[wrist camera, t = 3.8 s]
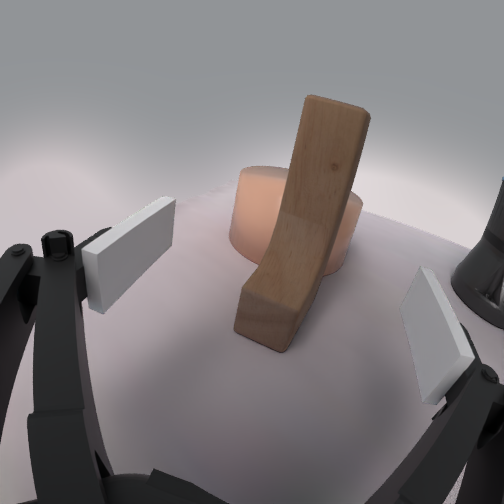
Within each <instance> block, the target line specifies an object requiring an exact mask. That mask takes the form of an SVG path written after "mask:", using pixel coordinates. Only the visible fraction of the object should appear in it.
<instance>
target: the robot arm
mask: <svg viewBox="0 0 504 504" xmlns="http://www.w3.org/2000/svg"><path fill="white" fill-rule="evenodd" d="M502 181H503V182H502V185H501V188H500V192H499V195H498V197H497V200H496V203H495V206H494V209H493V211H492V214H491V216H490V219H489V221H488V224H487V226H486V229H485V231H484V233H483V236H482V238H481V240H480V241H479V242H478V244H477V245H476V246H475V247H474V248H473V249H472V250H471V252H470V253H469V254H468V255H467V256H466V257H465V259H464V260H463V261H462V262H461V263H460V264H459V265H458V266H457V268H456V270H455V272H454V274H453V276H452V278H451V283H452V286H453V288H454V290H455V291H456V293H457V294H458V296H459V297H460V298H461V299H462V300H463V301H464V302H465V303H466V304H467V305H468V306H469V307H470V308H471V309H472V310H473V311H474V312H476V313H477V314H478V315H479V316H481V317H482V318H484V319H485V320H487V321H488V322H490V323H492V324H493V325H495V326H497V327H500V328H502V329H504V177H503V178H502ZM175 203H176V199H174V198H170V197H166V196H162V197H161V198H159V199H157V200H156V201H154V202H153V203H151V204H149V205H147V206H146V207H144V208H142V209H141V210H139V211H138V212H136V213H135V214H133V215H131V216H130V217H128V218H127V219H125V220H124V221H122V222H121V223H119V224H117V225H116V226H115V227H113V228H112V227H109V228H105V229H102V230H100V231H98V232H97V233H95V234H94V235H93V236H91V237H89V238H88V239H87V240H85V241H83V242H82V243H80V244H79V245H78V246H76V247H74V242H73V235H72V233H71V232H69V231H66V230H55V231H51V232H48V233H46V234H45V235H44V236H43V237H42V238H41V241H42V249H43V254H44V257H37V256H33V252H32V248H31V246H30V245H28V244H17V245H16V244H15V245H13V246H12V247H10V248H8V249H7V250H6V251H5V253H4V254H3V255H2V257H1V258H0V442H1V437H2V431H3V426H4V422H5V417H6V413H7V409H8V404H9V400H10V397H11V393H12V389H13V385H14V382H15V378H16V375H17V372H18V369H19V365H20V362H21V359H22V356H23V353H24V350H25V347H26V344H27V342H28V339H29V336H30V333H31V331H32V328H33V325H34V323H35V333H34V352H33V400H34V412H33V413H32V414H29V415H28V418H27V429H28V441H29V450H30V458H31V466H32V472H33V478H34V484H35V490H36V495H37V499H35V500H31V501H27V502H23V503H18V504H229V503H227V502H225V501H223V500H221V499H219V498H217V497H215V496H213V495H212V494H210V493H208V492H206V491H205V490H203V489H201V488H199V487H198V486H196V485H194V484H193V483H191V482H188V481H185V480H182V479H179V478H177V477H174V476H171V475H169V474H166V473H164V472H161V471H159V470H156V469H153V471H152V473H151V475H145V474H119V475H114V473H113V470H112V467H111V465H110V462H109V459H108V457H107V454H106V451H105V447H104V443H103V439H102V435H101V431H100V427H99V422H98V418H97V413H96V408H95V403H94V397H93V392H92V386H91V380H90V374H89V367H88V359H87V351H86V343H85V333H84V321H83V308H82V301H83V300H84V299H85V298H86V297H87V299H88V305H89V308H90V309H92V310H94V311H97V312H99V313H101V314H104V313H105V312H106V311H107V310H108V309H109V308H110V307H111V306H112V305H113V304H114V303H115V302H116V301H117V300H118V299H119V298H120V297H121V296H122V295H123V294H124V292H125V291H126V290H127V289H128V288H129V287H130V286H131V285H132V284H133V283H134V282H135V281H136V280H137V279H138V278H139V277H140V276H141V275H142V274H143V273H144V272H145V271H146V270H147V269H148V268H149V267H150V266H151V265H152V264H153V263H154V262H155V261H156V260H157V259H158V258H159V257H160V256H161V255H163V254H164V253H165V252H166V251H167V250H168V249H169V248H170V247H171V246H172V238H173V226H174V214H175ZM400 312H401V315H402V319H403V323H404V326H405V330H406V334H407V337H408V341H409V345H410V349H411V353H412V358H413V362H414V366H415V371H416V375H417V380H418V385H419V390H420V395H421V400H422V403H425V404H434V405H437V404H438V403H439V401H440V400H441V399H442V398H443V397H444V396H445V397H446V401H447V403H446V404H445V405H444V406H443V407H442V408H441V409H440V410H439V411H438V412H437V413H436V414H435V416H434V417H433V418H432V420H433V422H432V423H431V425H430V426H429V427H428V429H427V430H426V432H425V433H424V434H423V436H422V437H421V439H420V440H419V441H418V443H417V444H416V445H415V447H414V448H413V449H412V450H411V452H410V453H409V454H408V456H407V457H406V458H405V459H404V460H403V462H402V463H401V464H400V465H399V467H398V468H397V469H396V470H395V471H394V472H393V474H392V475H391V476H390V477H389V478H388V479H387V480H386V481H385V483H384V484H383V485H382V486H381V487H380V488H379V489H378V490H377V491H376V492H375V493H374V494H373V495H372V496H371V497H370V498H369V500H368V501H367V502H366V503H365V504H443V502H444V501H445V499H446V497H447V496H448V494H449V493H450V491H451V489H452V488H453V486H454V484H455V482H456V481H457V479H458V477H459V475H460V474H461V472H462V470H463V468H464V466H465V464H466V462H467V464H466V468H465V472H464V476H463V480H462V483H461V487H460V490H459V493H458V496H457V500H456V503H455V504H504V385H502V384H500V383H499V378H498V375H497V374H496V372H495V371H494V370H493V369H492V368H491V367H489V366H488V365H485V364H482V362H481V360H480V358H479V355H478V353H477V351H476V348H475V346H474V344H473V342H472V340H471V337H470V335H469V333H468V331H467V330H466V329H465V327H464V326H463V325H462V324H461V323H459V321H458V319H457V317H456V314H455V312H454V310H453V308H452V306H451V304H450V302H449V300H448V299H447V297H446V295H445V293H444V291H443V289H442V287H441V285H440V283H439V282H438V280H437V278H436V276H435V274H434V272H433V271H432V270H431V269H428V268H425V267H422V266H420V268H419V270H418V272H417V274H416V276H415V278H414V280H413V282H412V285H411V287H410V289H409V291H408V293H407V295H406V297H405V299H404V301H403V302H402V304H401V306H400Z"/></svg>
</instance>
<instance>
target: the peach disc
mask: <svg viewBox="0 0 504 504" xmlns="http://www.w3.org/2000/svg"><path fill="white" fill-rule="evenodd" d="M288 172H289V169H287V168H280V167H271V166H252V167H247V168H244V169H242V170H241V171H240V176H239V181H238V187H237V192H236V198H235V203H234V209H233V214H232V220H231V226H230V231H229V239H230V242H231V244H232V245H233V247H234V248H235V249H236V250H237V251H238V252H239V253H240V254H242V255H243V256H244V257H246V258H247V259H249V260H251V261H252V262H254V263H256V264H258V265H259V264H260V262H261V260H262V258H263V256H264V254H265V252H266V250H267V248H268V246H269V243H270V240H271V237H272V234H273V231H274V228H275V225H276V222H277V218H278V214H279V210H280V205H281V201H282V197H283V193H284V189H285V184H286V180H287V176H288ZM362 206H363V202H362V200H361V199H360V198H359V197H358V196H357V195H356V194H355V193H353V192H352V191H351V192H350V195H349V199H348V202H347V205H346V208H345V212H344V215H343V218H342V221H341V224H340V227H339V230H338V233H337V236H336V240H335V243H334V246H333V249H332V251H331V254H330V257H329V260H328V263H327V266H326V269H325V272H324V274H323V276H325V275H329V274H332V273H334V272H336V271H337V270H339V269H340V267H341V266H342V264H343V261H344V258H345V255H346V253H347V250H348V247H349V244H350V241H351V239H352V236H353V233H354V230H355V227H356V224H357V221H358V218H359V215H360V212H361V209H362Z"/></svg>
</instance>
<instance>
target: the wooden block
mask: <svg viewBox="0 0 504 504" xmlns="http://www.w3.org/2000/svg"><path fill="white" fill-rule="evenodd" d="M370 119H371V117H370V114H369V113H368V112H367V111H366V110H365V109H363V108H361V107H358V106H354V105H350V104H347V103H343V102H340V101H336V100H331V99H328V98H324V97H320V96H316V95H307V97H306V98H305V102H304V106H303V111H302V115H301V119H300V124H299V128H298V133H297V137H296V141H295V146H294V150H293V154H292V159H291V163H290V167H289V172H288V176H287V180H286V184H285V189H284V193H283V197H282V201H281V205H280V210H279V214H278V218H277V222H276V225H275V228H274V231H273V234H272V237H271V240H270V243H269V246H268V248H267V250H266V252H265V254H264V256H263V258H262V260H261V262H260V264H259V266H258V268H257V269H256V271H255V272H254V273H253V274H252V276H251V277H250V278H249V279H248V280H247V282H246V283H245V284H244V285H243V287H242V290H241V295H240V300H239V304H238V309H237V314H236V319H235V323H234V331H235V332H237V333H239V334H241V335H243V336H245V337H247V338H249V339H252V340H254V341H256V342H258V343H260V344H262V345H264V346H267V347H269V348H271V349H273V350H275V351H278V352H282V353H283V352H284V351H285V350H286V349H287V348H288V346H289V344H290V342H291V341H292V339H293V337H294V335H295V334H296V332H297V330H298V328H299V326H300V325H301V323H302V321H303V319H304V317H305V315H306V314H307V312H308V310H309V308H310V306H311V304H312V302H313V301H314V299H315V296H316V294H317V291H318V288H319V286H320V283H321V280H322V277H323V274H324V272H325V269H326V266H327V263H328V260H329V257H330V254H331V251H332V249H333V246H334V243H335V240H336V236H337V233H338V230H339V227H340V224H341V221H342V218H343V215H344V212H345V208H346V205H347V202H348V199H349V195H350V192H351V188H352V185H353V182H354V178H355V175H356V171H357V167H358V164H359V161H360V157H361V153H362V150H363V146H364V142H365V139H366V135H367V131H368V127H369V123H370Z"/></svg>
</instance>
